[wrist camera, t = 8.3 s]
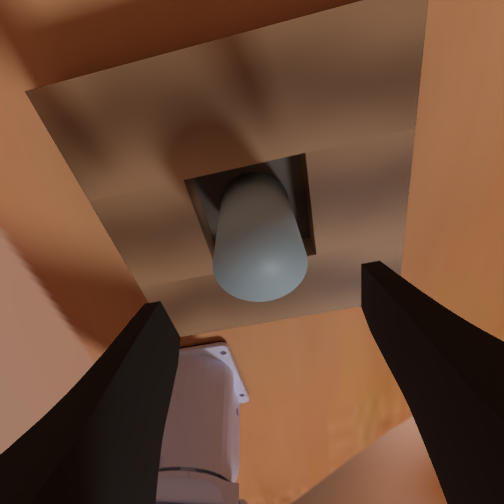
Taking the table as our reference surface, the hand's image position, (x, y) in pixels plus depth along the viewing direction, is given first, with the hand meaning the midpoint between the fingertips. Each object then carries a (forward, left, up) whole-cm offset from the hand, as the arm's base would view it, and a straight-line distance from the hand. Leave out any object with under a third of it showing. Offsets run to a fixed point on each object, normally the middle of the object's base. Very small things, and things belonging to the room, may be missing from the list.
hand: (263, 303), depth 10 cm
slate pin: (0, 0, -8) cm, 8 cm away
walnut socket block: (0, 0, -9) cm, 9 cm away
